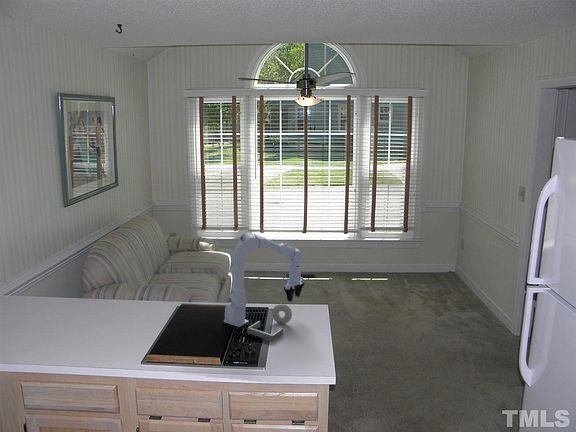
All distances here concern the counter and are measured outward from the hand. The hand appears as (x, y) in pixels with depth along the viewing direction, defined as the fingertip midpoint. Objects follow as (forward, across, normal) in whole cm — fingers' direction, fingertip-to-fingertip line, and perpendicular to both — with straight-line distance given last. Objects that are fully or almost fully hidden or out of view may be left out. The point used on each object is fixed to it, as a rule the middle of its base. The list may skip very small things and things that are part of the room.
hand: (293, 298), depth 254 cm
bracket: (+9, -25, 0) cm, 26 cm away
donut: (+10, -10, 0) cm, 14 cm away
